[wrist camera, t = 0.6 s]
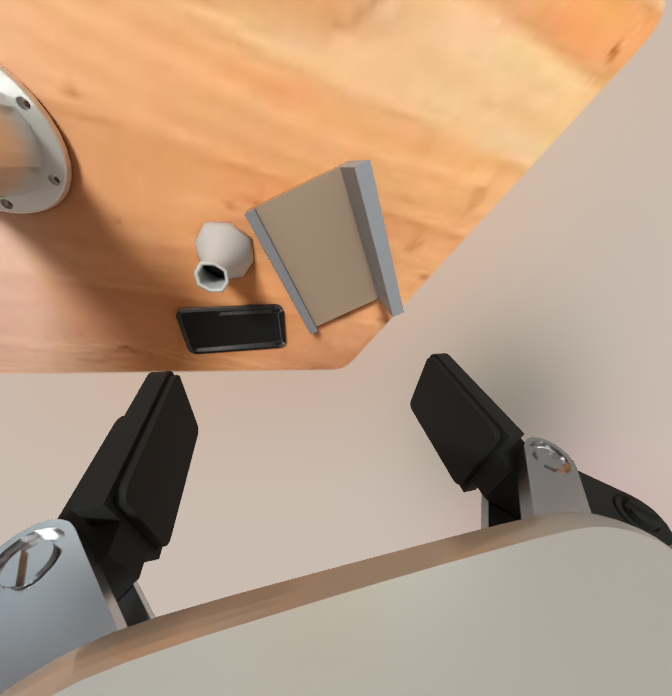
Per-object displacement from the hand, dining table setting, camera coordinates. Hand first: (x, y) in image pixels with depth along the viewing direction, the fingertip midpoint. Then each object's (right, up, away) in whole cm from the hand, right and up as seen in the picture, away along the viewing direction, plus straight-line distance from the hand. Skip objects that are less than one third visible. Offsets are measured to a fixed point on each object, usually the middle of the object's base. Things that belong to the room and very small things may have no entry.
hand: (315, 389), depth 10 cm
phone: (-15, +5, +30) cm, 34 cm away
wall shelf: (-2, +15, +26) cm, 30 cm away
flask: (-14, +15, +23) cm, 30 cm away
